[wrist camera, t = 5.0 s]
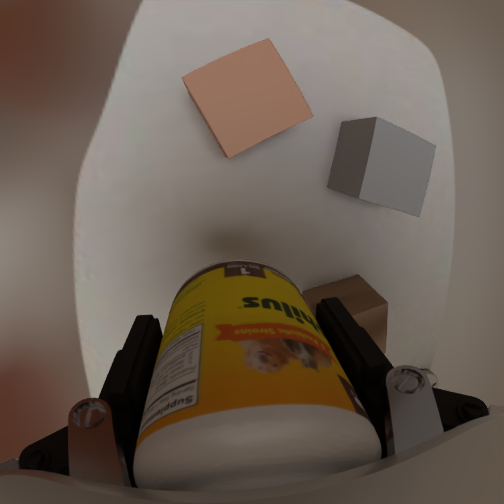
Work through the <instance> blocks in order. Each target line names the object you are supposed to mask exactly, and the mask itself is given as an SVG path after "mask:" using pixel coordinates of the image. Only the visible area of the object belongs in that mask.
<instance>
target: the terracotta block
mask: <svg viewBox="0 0 504 504" xmlns="http://www.w3.org/2000/svg"><path fill="white" fill-rule="evenodd" d="M182 79H183V82H184V84H185V86H186V88H187V90H188V93H189V95H190V97H191V98H192V100H193V102H194V103H195V105H196V107H197V108H198V110H199V112H200V114H201V115H202V117H203V119H204V120H205V122H206V124H207V126H208V127H209V129H210V131H211V133H212V134H213V136H214V138H215V140H216V141H217V143H218V145H219V147H220V148H221V150H222V152H223V154H224V155H225V157H227V158H228V159H229V158H231V157H233V156H235V155H237V154H239V153H240V152H242V151H244V150H246V149H248V148H250V147H252V146H254V145H256V144H258V143H259V142H261V141H263V140H265V139H267V138H269V137H271V136H273V135H275V134H277V133H279V132H282V131H284V130H286V129H288V128H290V127H292V126H294V125H296V124H298V123H300V122H303V121H305V120H307V119H309V118H311V117H314V115H313V114H312V112H311V110H310V108H309V106H308V104H307V102H306V100H305V98H304V96H303V95H302V93H301V91H300V89H299V87H298V86H297V84H296V82H295V80H294V78H293V77H292V75H291V73H290V72H289V70H288V68H287V66H286V65H285V63H284V61H283V60H282V58H281V56H280V55H279V53H278V52H277V50H276V48H275V47H274V45H273V44H272V42H271V40H270V39H269V38H268V39H265V40H262V41H260V42H257V43H254V44H252V45H249V46H247V47H244V48H242V49H240V50H237V51H235V52H233V53H230V54H228V55H226V56H224V57H221V58H219V59H217V60H215V61H213V62H211V63H209V64H207V65H205V66H203V67H201V68H199V69H197V70H195V71H193V72H191V73H189V74H187V75H185V76H184V77H182Z"/></svg>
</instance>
